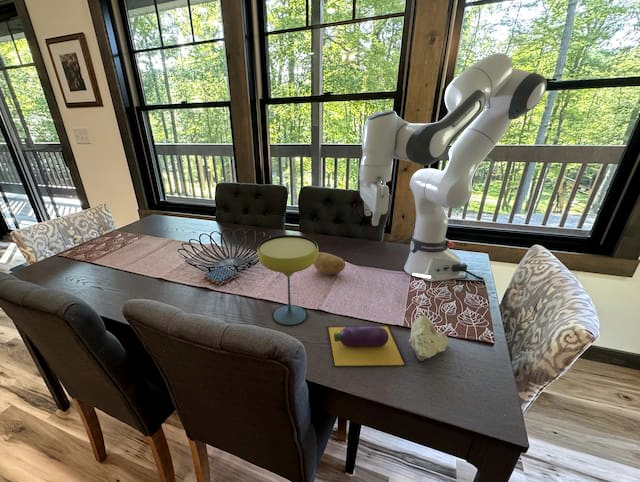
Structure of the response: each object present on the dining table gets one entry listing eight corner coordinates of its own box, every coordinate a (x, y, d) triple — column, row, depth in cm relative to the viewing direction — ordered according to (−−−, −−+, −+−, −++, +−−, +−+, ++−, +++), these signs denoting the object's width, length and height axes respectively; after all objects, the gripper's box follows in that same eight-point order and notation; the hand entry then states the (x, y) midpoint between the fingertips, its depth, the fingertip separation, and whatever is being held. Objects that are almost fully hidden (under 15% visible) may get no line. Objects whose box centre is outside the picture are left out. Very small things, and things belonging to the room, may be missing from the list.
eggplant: (384, 337, 91) (386, 322, 89) (389, 350, 86) (392, 334, 84) (332, 338, 92) (333, 323, 89) (335, 351, 87) (336, 335, 84)
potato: (338, 282, 121) (339, 264, 117) (307, 273, 129) (307, 255, 125) (349, 272, 128) (350, 254, 124) (319, 264, 135) (320, 247, 132)
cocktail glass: (315, 334, 94) (316, 260, 82) (256, 330, 97) (249, 257, 85) (318, 301, 109) (320, 235, 98) (268, 298, 113) (264, 233, 101)
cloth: (387, 326, 96) (387, 326, 96) (404, 365, 81) (404, 364, 81) (328, 327, 96) (328, 327, 96) (335, 366, 82) (335, 365, 82)
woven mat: (219, 286, 122) (218, 282, 121) (203, 278, 128) (202, 274, 127) (239, 276, 128) (239, 272, 127) (223, 269, 135) (223, 265, 134)
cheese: (422, 335, 94) (390, 314, 89) (445, 325, 90) (412, 303, 84) (435, 384, 84) (399, 364, 78) (461, 375, 79) (425, 354, 74)
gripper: (397, 181, 81) (390, 231, 87) (377, 167, 99) (373, 210, 105) (372, 182, 81) (368, 232, 87) (357, 168, 99) (354, 210, 105)
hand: (370, 219), depth 96 cm, fingers open, 8 cm apart
